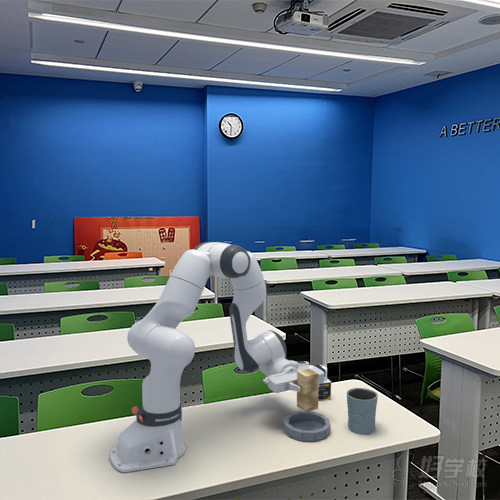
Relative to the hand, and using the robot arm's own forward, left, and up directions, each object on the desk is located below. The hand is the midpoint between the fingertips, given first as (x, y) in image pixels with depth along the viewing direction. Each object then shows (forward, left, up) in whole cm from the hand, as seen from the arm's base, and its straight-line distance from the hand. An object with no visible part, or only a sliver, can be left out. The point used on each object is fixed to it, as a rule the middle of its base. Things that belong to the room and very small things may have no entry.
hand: (309, 388), depth 159 cm
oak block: (0, +1, -7) cm, 7 cm away
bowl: (0, +1, -15) cm, 15 cm away
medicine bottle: (+19, +21, -15) cm, 32 cm away
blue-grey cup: (+17, -6, -15) cm, 23 cm away
